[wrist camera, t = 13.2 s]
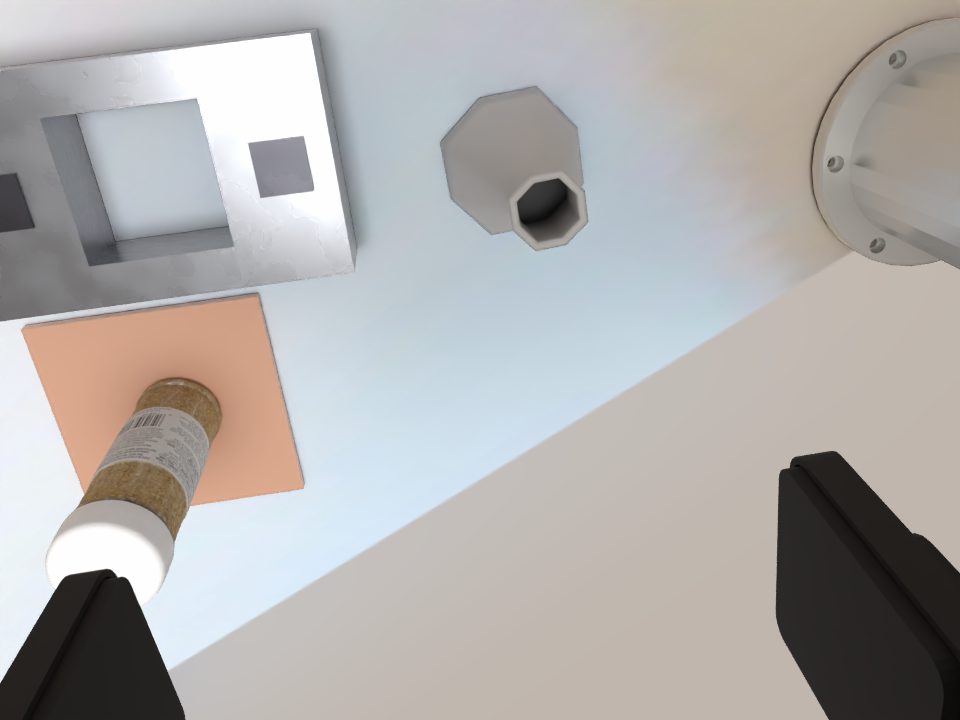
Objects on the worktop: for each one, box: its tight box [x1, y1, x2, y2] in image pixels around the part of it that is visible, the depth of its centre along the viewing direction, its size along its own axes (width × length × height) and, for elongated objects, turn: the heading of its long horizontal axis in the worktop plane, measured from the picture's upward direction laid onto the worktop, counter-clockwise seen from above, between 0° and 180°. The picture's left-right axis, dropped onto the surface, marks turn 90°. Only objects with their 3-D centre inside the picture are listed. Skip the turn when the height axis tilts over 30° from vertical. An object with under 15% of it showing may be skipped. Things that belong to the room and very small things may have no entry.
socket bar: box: [0, 29, 357, 321], centre depth 37 cm, size 17×11×4 cm, turn 96°
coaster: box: [21, 293, 304, 506], centre depth 44 cm, size 12×12×1 cm
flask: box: [440, 87, 588, 251], centre depth 36 cm, size 7×7×10 cm
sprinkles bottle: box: [45, 379, 222, 607], centre depth 38 cm, size 5×5×13 cm
